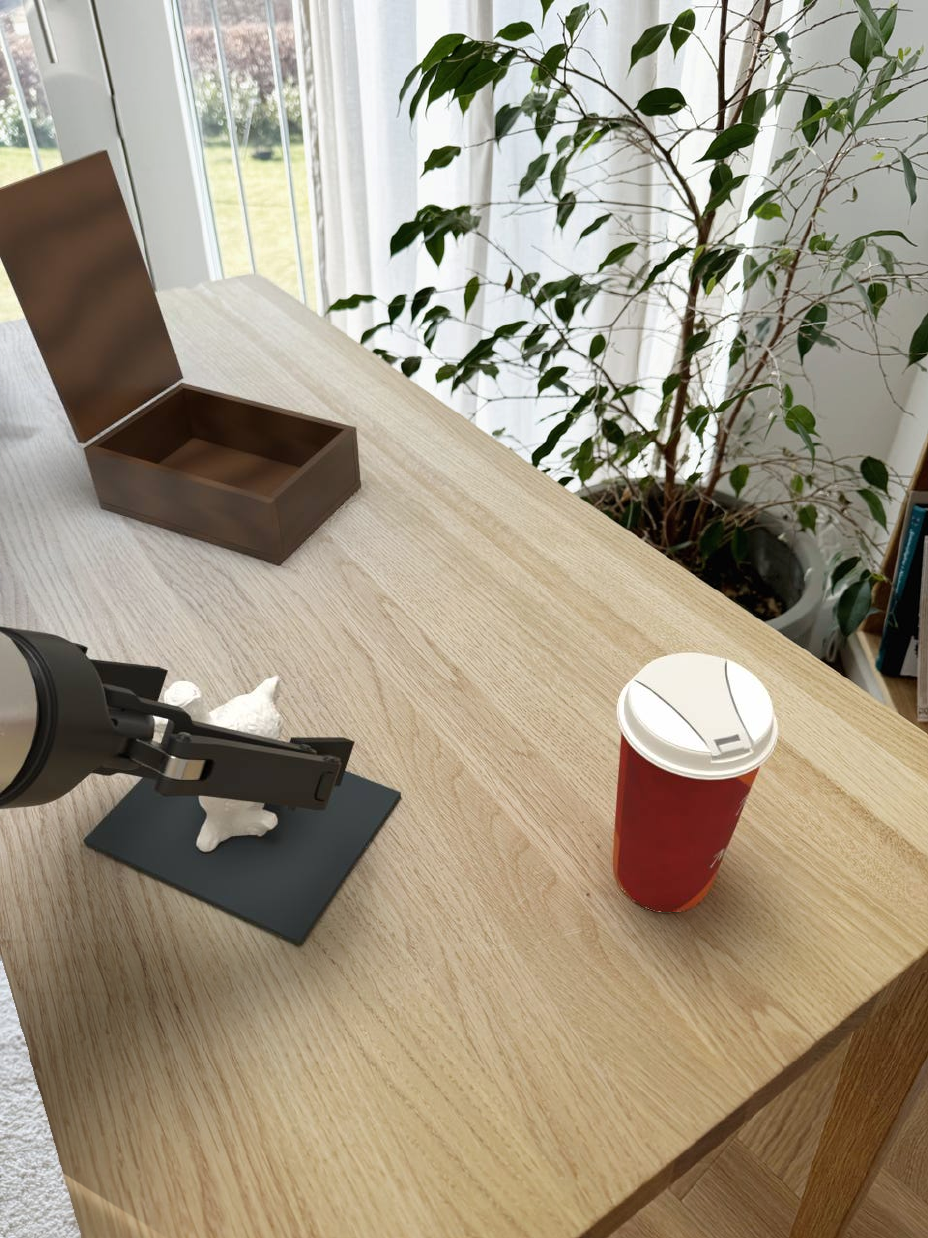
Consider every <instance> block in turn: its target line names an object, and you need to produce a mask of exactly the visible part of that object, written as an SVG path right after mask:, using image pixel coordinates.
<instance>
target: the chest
mask: <svg viewBox="0 0 928 1238" xmlns="http://www.w3.org/2000/svg"><path fill="white" fill-rule="evenodd" d="M82 449H83V452H84V456H85V460H86V463H87V467H88V469H89V474H90V477H91V481H92V483H93V486H94V490H95V493H96V496H97V500H98V504H99V507H100V509H104V510H106V511H110V512H113V513H116V514H119V515H122V516H125V517H127V518H131V519H133V520H137V521H141V522H144V523H146V524H150V525H153V526H156V527H159V528H162V529H165V530H169V531H170V532H171V531H172V532H174V533H178V534H181V535H184V536H187V537H190V538H194V539H196V540H200V541H203V542H206V543H209V544H213V545H215V546H217V547H218V546H219V547H222V548H225V549H228V550H232V551H233V552H237V553H240V554H243V555H246V556H250V557H253V558H256V559H259V560H262V561H264V562H268V563H272V564H275V565H277V566H280V565H281V564H282V563H283V562H284V561H286V559H288V558H289V557H290V556H291V555H292V554H293V553H294V552H295V551H296V550H297V549H298V548H299V547H300V546H301V545H302V544H303V543H304V542H306V540H307V539H308V538H309V537H310V536H312V534H313V533H314V532H315V531H316V530H317V529H318V528H320V527H321V525H323V523H325V522H326V521H327V520H328V519H329V518H330V517H331V516H332V515H333V514H334V513H335V512H336V511H337V510H338V509H339V508H340V507H342V505H343V504H344V503H345V502H346V501H347V500H348V499H349V498H350V497H351V496H352V495H353V494H354V493H356V491H358V490H359V489H360V488H361V486H362V482H361V481H362V480H361V469H360V457H359V456H360V455H359V443H358V431H357V426H352V425H348V424H345V423H341V422H337V421H333V420H330V419H326V418H321V417H319V416H318V417H317V416H314V415H310V414H306V413H302V412H299V411H294V410H290V409H286V408H283V407H279V406H275V405H272V404H267V403H264V402H260V401H255V400H252V399H248V398H243V397H240V396H237V395H232V394H228V393H224V392H221V391H216V390H212V389H209V388H204V387H201V386H197V385H193V384H190V383H185V382H179V384H177V385H176V386H174V387H173V388H171V389H170V390H169V391H167V392H165V393H164V394H163V395H161V396H159V397H157V398H156V399H155V400H153V401H152V402H150V403H149V404H147V405H145V407H143V408H141V409H140V410H138V411H136V412H135V413H134V414H132V415H131V416H129V417H128V418H127V419H125V420H123V421H122V422H120V423H119V424H117V425H116V426H115V427H113V428H111V429H109V430H108V431H107V432H105V433H103V434H102V435H101V436H99V437H97V438H96V439H95V440H93V441H92V442H90V443H88V444H86V446H84V447H83V448H82Z"/></svg>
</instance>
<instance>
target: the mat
mask: <svg viewBox="0 0 928 1238" xmlns="http://www.w3.org/2000/svg"><path fill="white" fill-rule="evenodd" d="M154 782H155V780H154V779H149V778H144V777H141V779H139V780H138V782H136V784H135V785H134V786H133V787H132V788H130V790H129V791H128V792H127V793H126V794H125V795H124V797H122V799H121V800H119V802H118V803H116V804H115V806H114V807H112V809H111V810H110V811H109V812H108V813H107V814H106V816H105V817H103V818H102V820H100V821H99V823H98V824H97V825H95V827H94V828H93V829H92V830H91V831H90V832H89V833H88V835H86V836H85V837H84V838H83V840H82V841H83V843H84V845H85V846H87V847H89V848H91V849H94V850H96V851H97V852H100V853H102V854H104V855H106V856H108V857H111V858H112V859H115V860H117V861H119V862H121V863H123V864H125V865H127V866H129V867H132V868H133V869H136V870H138V871H140V872H142V873H144V874H147V876H150V877H153V878H155V879H157V880H159V881H162V882H163V883H166V884H168V885H169V886H171V887H174V888H176V889H178V890H180V891H183V892H184V893H186V894H189V895H192V896H193V897H195V898H197V899H200V900H201V901H204V902H206V903H208V904H210V905H212V906H214V907H216V908H218V909H220V910H223V911H224V912H227V913H229V914H231V915H234V916H235V917H237V918H240V919H242V920H244V921H246V922H248V923H250V924H252V925H255V926H256V927H259V928H260V929H263V930H265V931H267V932H269V933H271V934H273V935H276V936H277V937H279V938H282V939H284V940H286V941H289V942H290V941H291V942H290V943H292V942H293V944H295V945H296V946H299V945H301V946H302V945H303V943H304V941H306V939H307V937H308V935H309V934H310V933H309V931H310V932H311V931H312V930H313V928H314V927H313V926H315V925H316V924H317V922H318V921H319V919H320V918H321V916H322V915H323V913H324V912H325V910H326V909H327V908H328V906H329V905H330V903H331V901H332V900H333V898H334V897H335V896H336V894H337V893H336V892H338V891H339V890H340V888H341V887H342V885H343V884H344V882H345V881H346V879H347V878H348V877H349V875H350V874H351V872H352V870H353V869H354V867H355V866H356V865H357V863H358V862H359V860H360V859H361V857H362V856H363V854H364V853H365V852H366V850H367V848H368V847H369V845H370V844H371V842H372V841H373V839H374V838H375V836H376V835H377V834H378V832H379V831H380V829H381V827H382V826H383V824H384V823H385V822H386V820H387V819H388V817H389V816H390V814H391V813H392V811H393V810H394V808H395V807H396V805H397V804H398V802H399V801H400V799H401V798H402V792H401V791H398V790H395V789H394V788H390V787H388V786H385V785H383V784H380V783H378V782H375V781H373V780H371V779H368V778H365V777H363V776H360V775H357V774H355V773H353V772H351V771H347V770H345V773H344V776H343V779H342V782H341V785H340V786H334V788H333V791H332V794H331V797H330V800H329V803H328V806H327V809H326V810H324V811H323V810H319V811H316V810H312V809H307V808H298V811H290V809H288V808H287V807H285V806H282V805H274V804H266V803H264V806H263V809H262V810H266V811H269V812H272V813H274V814H275V815H276V817H277V821H278V822H277V825H276V826H275V827H274V828H273V829H271V830H267V831H266V833H265V834H264V835H262V836H258V835H241V836H231V837H229V838H228V839H226V840H225V841H222V842H220V843H219V844H218V845H217V846H216V847H215V849H213V850H211V851H208V852H203V851H201V850H200V849H199V848H198V847H197V845H196V843H197V838H198V836H199V834H200V831H201V828H202V826H203V824H204V822H205V820H206V817H207V813H206V811H205V810H204V809H203V807H202V806H201V804H200V802H199V796H171V797H167V796H163V795H161V794H160V793H157V792H156V791H155V790H153V785H154ZM388 815H389V816H388ZM369 843H370V844H369ZM366 847H367V848H366ZM354 865H355V866H354ZM352 868H353V869H352ZM350 871H351V872H350ZM348 874H349V875H348ZM346 877H347V878H346ZM344 880H345V881H344ZM342 883H343V884H342ZM341 884H342V885H341ZM340 886H341V887H340ZM339 887H340V888H339ZM338 889H339V890H338ZM337 890H338V891H337ZM335 893H336V894H335ZM333 896H334V897H333ZM331 899H332V900H331ZM329 902H330V903H329ZM327 905H328V906H327ZM325 908H326V909H325ZM321 914H322V915H321ZM320 915H321V916H320ZM319 917H320V918H319ZM318 918H319V919H318ZM317 920H318V921H317ZM316 921H317V922H316ZM315 923H316V924H315ZM314 924H315V925H314ZM311 929H312V930H311ZM308 933H309V934H308ZM307 934H308V935H307ZM306 936H307V937H306Z"/></svg>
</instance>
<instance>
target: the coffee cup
mask: <svg viewBox="0 0 928 1238" xmlns="http://www.w3.org/2000/svg"><path fill="white" fill-rule="evenodd" d="M616 719H617V723H618V726H619V729H620V731H621V732H620V747H619V761H618V773H617V786H616V798H615V799H616V800H615V801H616V802H615V812H614V813H615V814H614V815H615V816H614V817H615V818H614V831H613V833H614V834H613V846H612V847H613V849H612V851H613V852H612V869H613V874H614V878H615V877H616V878H615V881H616V880H617V881H616V883H617V882H618V883H619V885H620V887H621V888H622V889H623V891H625V893H626V894H627V895H628V896H629V897H630V898H631V899H632V900H634V901H635V902H637V903H638V904H640V905H642V906H644V907H647V908H649V909H652V910H655V911H661V912H678V911H679V913H681V912H680V911H683V910H684V911H683V912H686V911H685V910H687V909H689V910H691V909H692V908H691V907H693V908H694V906H695V905H696V906H698V905H699V904H700V903H702V901H704V899H705V897H706V896H707V895H708V893H709V891H710V889H711V887H712V885H713V883H714V881H715V879H716V876H717V874H718V872H719V869H720V867H721V864H722V862H723V860H724V857H725V855H726V852H727V849H728V848H729V845H730V842H731V840H732V838H733V835H734V833H735V831H736V827H737V825H738V822H739V820H740V817H741V815H742V814H743V810H744V807H745V805H746V803H747V800H748V798H749V795H750V792H751V790H752V787H753V785H754V782H755V780H756V777H757V775H758V773H759V770H760V768H761V765H763V764H765V762H766V761H767V760H768V759H769V757H771V755H772V754H773V752H774V749H775V748H776V746H777V741H778V737H779V725H778V720H777V716H776V715H775V712H774V706H773V701H772V698H771V696H770V694H769V691H767V689H766V687H765V685H763V683H762V682H761V681H760V680H759V679H758V677H757V676H755V675H754V674H753V673H752V672H750V671H749V670H748V669H746V668H745V667H743V666H742V665H741V664H739V663H737V662H734V661H733V660H730V659H727V658H725V657H721V656H717V655H712V654H707V653H701V652H692V651H691V652H690V651H689V652H677V653H671V654H668V655H664V656H661V657H658V658H656V659H653V660H651V661H649V662H648V663H647V664H645V665H644V667H642V668H641V669H640V671H639V672H638V673H636V675H635V676H634V677H632V678H631V680H630V681H628V682H627V683H626V685H625V686H624V687H623V688H622V690H621V692H620V694H619V697H618V700H617V705H616ZM618 883H617V884H618ZM619 885H618V886H619ZM620 887H619V888H620ZM621 888H620V889H621ZM623 891H622V892H623ZM625 893H624V894H625ZM626 894H625V895H626ZM627 895H626V896H627ZM628 896H627V897H628ZM629 897H628V898H629ZM630 898H629V899H630ZM703 898H704V899H703ZM631 899H630V900H631ZM632 900H631V901H632ZM635 902H634V903H635ZM699 902H700V903H699ZM698 903H699V904H698ZM638 904H637V905H638ZM697 904H698V905H697ZM640 905H639V906H640ZM696 906H695V907H696ZM644 907H643V908H644ZM690 908H691V909H690ZM655 911H654V912H655ZM687 911H688V910H687Z"/></svg>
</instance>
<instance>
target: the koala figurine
mask: <svg viewBox="0 0 928 1238" xmlns="http://www.w3.org/2000/svg"><path fill="white" fill-rule="evenodd" d="M280 684H281V679H280V676H279V675H274V676H273V677H269V678H266V679H264V680H263V681H262V682H261V683H260V684H259V685H258V686H257V687H256V688H255V689H254V690H253V691H252V692H250V693H244V694H240V695H237V696H235V697H234V698H232V699H230V700H228V701H227V702H226V703H224V704H222V705H220V706H217V707H216V708H214V709H213V710H209V708H208V706H207V704H206V703H205V700H204V697H203V693H202V691H201V690H200V688H199V687H198V686H197V684H194V682H192V681H188V680H177V681H175V682H173V683H172V684H171V685H170V687H168V689H166V690H165V692H164V694H163V701H164V702H163V703H166V704H170V705H174V706H179V707H181V708H183V709H184V710H185V711H186V712H187V713H188V714H189V715H190V716H191V719H192V720H193V721H197V722H202V723H206V724H210V725H215V726H219V727H223V728H228V729H232V730H237V731H241V732H245V733H250V734H254V735H258V736H263V737H267V738H271V739H276V740H280V741H283V739H282V731H283V727H284V719H283V718H282V716H281V715H280V713H279V712H278V710H277V708H276V705H277V701H278V699H279V698H280V697H281V695H280V692H281V690H280V689H281V685H280ZM153 717H154V719H155V730H154V733H157V734H164V732H165V729H166V726H167V723H168V719H165V718H161V717H156V716H153ZM199 802H200V804H201V806H202V807H203V809H204V810H205V811H206V813H207V817H206V820H205V822H204V824H203V826H202V828H201V831H200V834H199V836H198V838H197V843H196V845H197V847H198V848H199V849H200V850H201V851H203V852H208V851H211V850H213V849H215V847H216V846H217V845H218V844H219V843H220V842H222V841H225V840H226V839H228V838H229V837H231V836H241V835H258V836H262V835H264V834H265V833H266V831H267V830H271V829H273V828H274V827H275V826H276V825H277V822H278V821H277V817H276V815H275V814H274V813H272V812H269V811H266V810H262V809H263V806H264V803H257V802H249V801H241V800H233V799H224V798H216V797H208V796H199Z"/></svg>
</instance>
